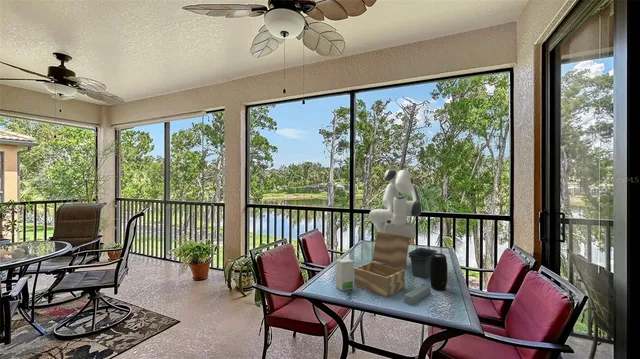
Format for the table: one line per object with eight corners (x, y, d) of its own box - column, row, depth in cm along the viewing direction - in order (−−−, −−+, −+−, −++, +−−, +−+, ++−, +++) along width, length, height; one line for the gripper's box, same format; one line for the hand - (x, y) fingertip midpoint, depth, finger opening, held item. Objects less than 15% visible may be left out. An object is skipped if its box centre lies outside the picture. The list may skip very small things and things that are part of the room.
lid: (372, 260, 168) (373, 260, 169) (404, 269, 152) (405, 269, 153) (376, 231, 171) (377, 231, 172) (408, 237, 155) (409, 237, 156)
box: (372, 277, 168) (372, 261, 168) (404, 288, 152) (404, 270, 152) (353, 284, 156) (354, 267, 156) (386, 297, 140) (386, 278, 140)
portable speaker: (448, 292, 147) (448, 257, 147) (430, 290, 150) (430, 256, 150) (445, 286, 155) (446, 253, 155) (428, 284, 158) (429, 252, 158)
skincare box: (341, 291, 147) (341, 262, 147) (335, 286, 153) (335, 259, 153) (354, 288, 151) (354, 260, 151) (347, 284, 157) (347, 257, 157)
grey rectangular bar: (423, 291, 148) (423, 284, 148) (430, 294, 146) (430, 286, 146) (404, 302, 135) (404, 294, 135) (411, 305, 132) (411, 297, 132)
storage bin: (427, 281, 163) (427, 257, 163) (403, 274, 174) (403, 252, 174) (438, 272, 179) (439, 250, 179) (415, 267, 190) (416, 246, 190)
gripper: (417, 223, 164) (417, 245, 164) (388, 219, 179) (388, 240, 179) (412, 224, 159) (412, 247, 159) (383, 220, 174) (382, 241, 174)
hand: (399, 243), depth 169 cm, fingers closed
